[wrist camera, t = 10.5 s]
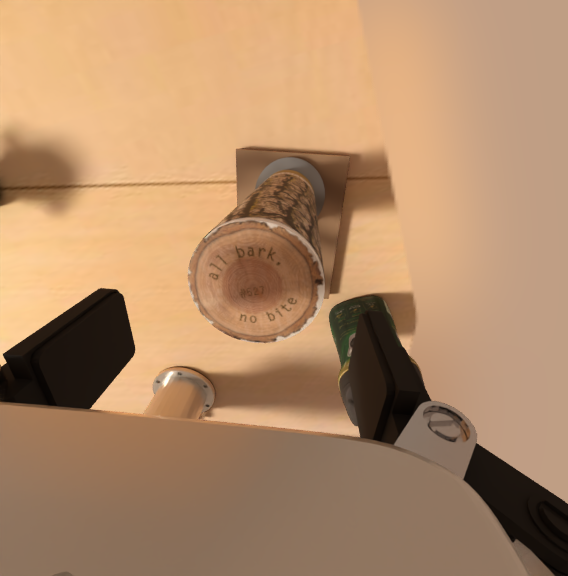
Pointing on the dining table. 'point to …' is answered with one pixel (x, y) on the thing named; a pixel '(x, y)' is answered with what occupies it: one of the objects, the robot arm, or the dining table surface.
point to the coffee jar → (344, 333)
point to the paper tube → (262, 264)
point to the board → (323, 177)
